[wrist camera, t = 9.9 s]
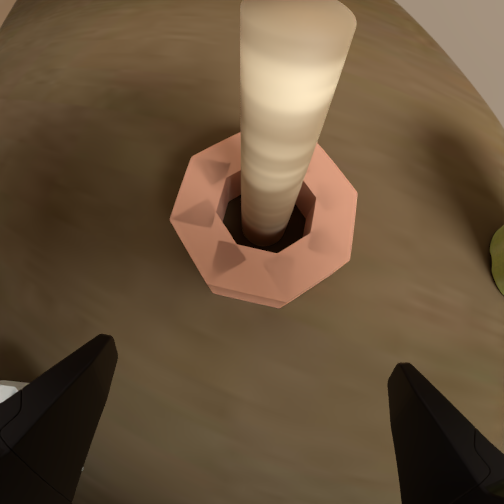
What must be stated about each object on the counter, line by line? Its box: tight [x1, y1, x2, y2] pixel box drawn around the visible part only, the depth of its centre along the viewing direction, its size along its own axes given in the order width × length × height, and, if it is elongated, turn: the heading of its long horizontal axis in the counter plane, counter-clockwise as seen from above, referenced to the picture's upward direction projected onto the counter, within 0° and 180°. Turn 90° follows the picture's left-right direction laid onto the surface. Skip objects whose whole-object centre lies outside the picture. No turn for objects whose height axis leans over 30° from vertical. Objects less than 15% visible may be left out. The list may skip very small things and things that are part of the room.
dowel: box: [240, 0, 357, 246], centre depth 12 cm, size 3×3×14 cm
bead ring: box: [170, 132, 357, 308], centre depth 17 cm, size 9×9×3 cm
